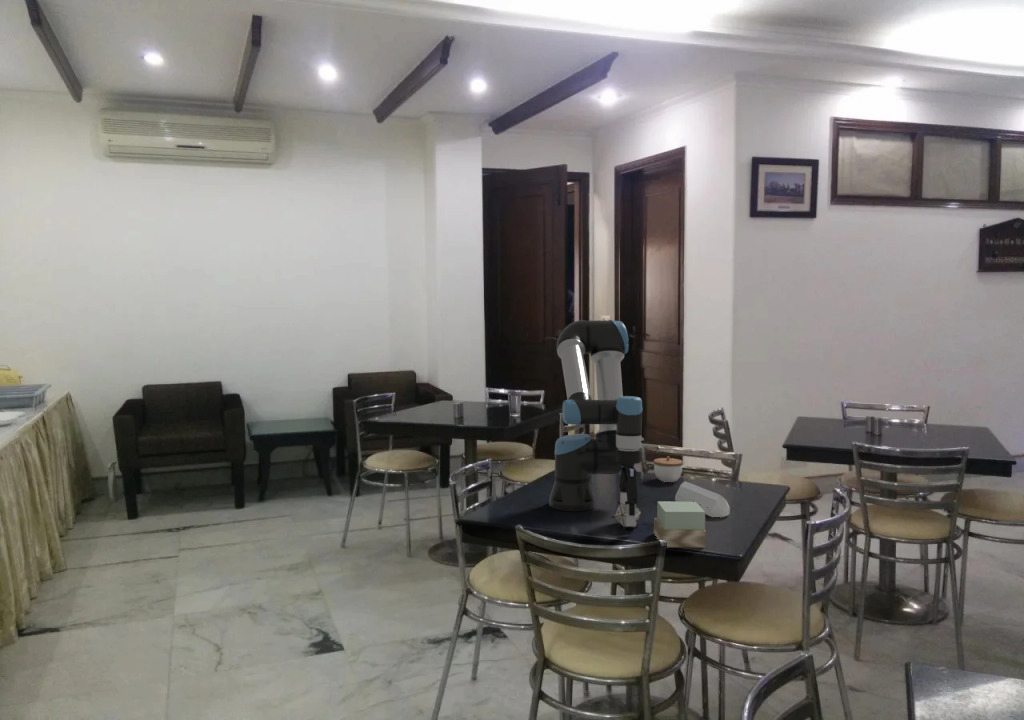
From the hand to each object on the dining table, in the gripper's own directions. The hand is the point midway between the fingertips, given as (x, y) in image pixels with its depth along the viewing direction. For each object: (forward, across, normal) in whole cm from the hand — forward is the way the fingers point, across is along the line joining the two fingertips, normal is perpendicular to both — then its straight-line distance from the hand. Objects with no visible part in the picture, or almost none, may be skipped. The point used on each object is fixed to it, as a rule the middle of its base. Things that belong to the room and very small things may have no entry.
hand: (627, 519), depth 223 cm
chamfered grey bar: (+3, +22, -27) cm, 35 cm away
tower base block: (+3, -12, -13) cm, 17 cm away
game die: (+3, 0, 0) cm, 3 cm away
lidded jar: (+2, +61, -24) cm, 65 cm away
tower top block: (-2, -11, -13) cm, 17 cm away
